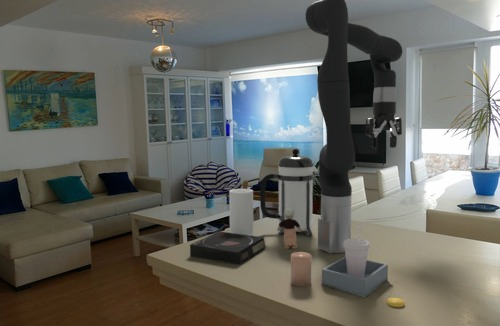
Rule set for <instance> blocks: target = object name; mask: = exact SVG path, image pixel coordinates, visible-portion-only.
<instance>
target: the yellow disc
mask: <svg viewBox="0 0 500 326" xmlns="http://www.w3.org/2000/svg"><path fill="white" fill-rule="evenodd" d="M386 304H387V305H388V306H390V307H392V308H403V307H404V306H405V300H404V299H402V298H399V297H388V298H387V299H386Z"/></svg>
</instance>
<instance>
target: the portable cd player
mask: <svg viewBox="0 0 500 326" xmlns="http://www.w3.org/2000/svg"><path fill="white" fill-rule="evenodd" d="M189 247H190V248H189V250H190V251H189V252H190V257H193V258H197V259H203V260H209V261H215V262H221V263H226V264H233V265H238V266H239V265H242V264H243V263H244V262H246V261H248V260H249V259H251V258H252V257H253V256H255V255H256V254H258V253H260V252H261V251H263V250H265V248H266V241H265V238H264V237H263V236H257V235H256V236H255V235H253V236H249V235H242V234H235V233H230V232H225V231H216V232H215V233H212V234H211V235H208V236H207V237H204V238H202V239H199V240H198V241H195V242H194V243H193V242H192V243H190V244H189Z"/></svg>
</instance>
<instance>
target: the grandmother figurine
mask: <svg viewBox="0 0 500 326" xmlns="http://www.w3.org/2000/svg"><path fill="white" fill-rule="evenodd" d="M284 215H285V216H286V218H287V219H285V220H283V221H281V222H280V223H279V222H278V226H277V228H276V230H277V232H279V231H280V229H281V227H285V228H284V230H283V231H284V236H283V243H284V245H283V248H284V249H290V248H291V249H297V248H299V245H298V244H297V232H296V230H295V226H296V227H297V228H298V230H299V233H302V232H303V231H302V230H301V227H300V225H299V223H298V222H297V221H296V220H294V219H292V218H293V216H294V210H293V208H287V209H286V210H285V212H284Z"/></svg>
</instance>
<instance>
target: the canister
mask: <svg viewBox="0 0 500 326" xmlns="http://www.w3.org/2000/svg"><path fill="white" fill-rule="evenodd" d="M290 284H291V285H292V286H296V287H308V286H311V284H312V254H311V253H308V252H305V251H296V252H292V253H291V254H290Z"/></svg>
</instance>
